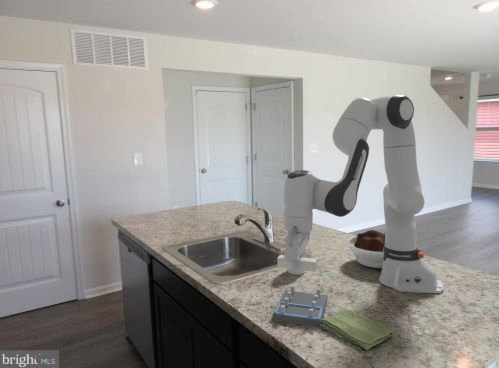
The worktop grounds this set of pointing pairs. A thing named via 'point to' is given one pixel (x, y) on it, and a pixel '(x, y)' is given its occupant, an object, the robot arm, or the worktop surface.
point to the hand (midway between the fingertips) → (297, 265)
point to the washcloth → (356, 328)
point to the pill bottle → (295, 271)
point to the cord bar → (304, 263)
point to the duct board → (301, 307)
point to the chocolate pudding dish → (368, 248)
